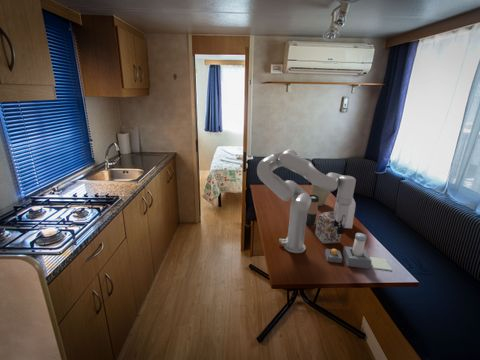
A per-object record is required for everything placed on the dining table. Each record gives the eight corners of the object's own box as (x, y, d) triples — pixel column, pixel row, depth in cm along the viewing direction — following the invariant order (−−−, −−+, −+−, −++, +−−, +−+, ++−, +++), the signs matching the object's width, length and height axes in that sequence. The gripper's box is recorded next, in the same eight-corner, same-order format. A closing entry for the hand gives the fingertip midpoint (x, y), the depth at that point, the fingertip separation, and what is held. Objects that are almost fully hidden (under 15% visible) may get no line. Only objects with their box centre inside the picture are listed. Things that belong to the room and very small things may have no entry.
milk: (352, 228, 179) (359, 193, 171) (334, 226, 181) (340, 191, 173) (348, 220, 190) (355, 187, 182) (332, 218, 192) (338, 185, 184)
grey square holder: (347, 265, 139) (348, 257, 138) (342, 253, 150) (344, 246, 148) (369, 268, 138) (371, 260, 136) (363, 256, 148) (365, 248, 147)
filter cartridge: (351, 263, 142) (357, 237, 137) (349, 257, 147) (354, 232, 142) (362, 264, 141) (368, 238, 136) (359, 258, 146) (364, 233, 141)
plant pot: (330, 208, 210) (333, 189, 205) (312, 207, 210) (314, 188, 205) (325, 200, 225) (327, 183, 219) (307, 200, 225) (310, 182, 220)
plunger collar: (327, 261, 142) (328, 256, 141) (325, 253, 150) (325, 248, 149) (341, 263, 141) (342, 258, 140) (338, 254, 149) (339, 250, 148)
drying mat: (373, 268, 138) (374, 267, 138) (367, 257, 148) (368, 256, 147) (391, 270, 137) (392, 269, 137) (384, 259, 146) (385, 258, 146)
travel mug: (317, 225, 182) (321, 198, 175) (307, 226, 180) (311, 199, 173) (311, 220, 189) (315, 194, 182) (302, 221, 187) (305, 195, 180)
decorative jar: (340, 243, 161) (345, 216, 155) (322, 244, 159) (327, 217, 153) (330, 233, 172) (335, 208, 166) (314, 234, 170) (318, 209, 164)
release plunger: (331, 256, 144) (332, 251, 143) (330, 253, 147) (331, 248, 145) (336, 257, 143) (337, 252, 142) (335, 254, 146) (336, 249, 145)
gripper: (333, 192, 143) (328, 221, 149) (340, 205, 127) (334, 237, 132) (347, 194, 142) (342, 223, 148) (356, 207, 126) (349, 239, 131)
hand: (338, 229), depth 140 cm, fingers open, 7 cm apart
